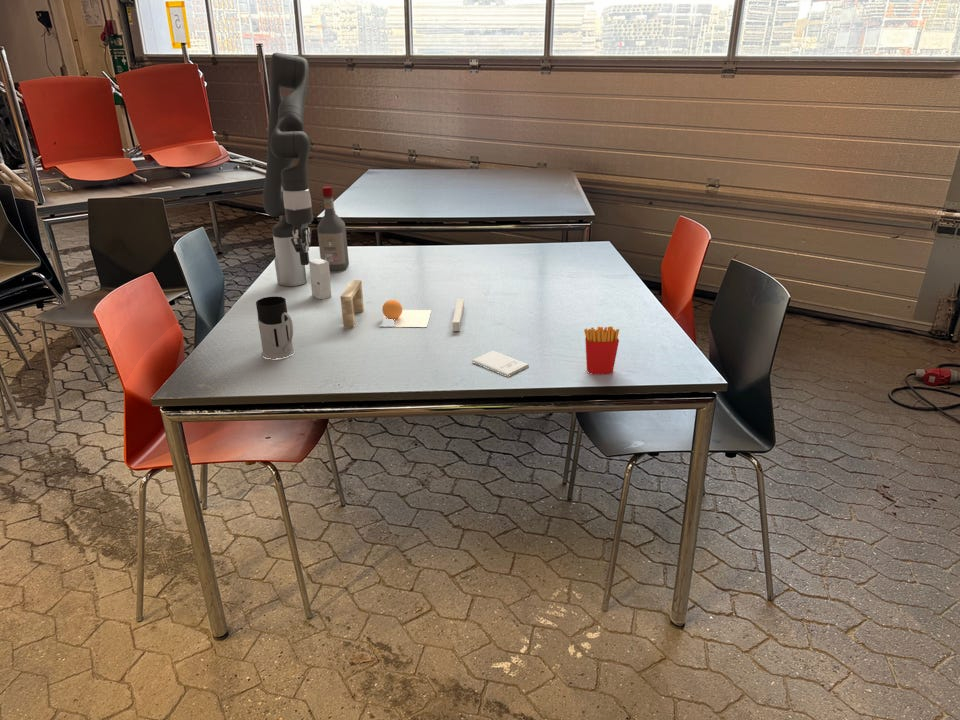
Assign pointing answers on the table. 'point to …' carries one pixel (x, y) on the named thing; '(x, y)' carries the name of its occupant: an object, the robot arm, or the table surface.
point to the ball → (392, 309)
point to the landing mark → (413, 318)
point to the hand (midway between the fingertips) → (305, 264)
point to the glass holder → (275, 327)
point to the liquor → (332, 235)
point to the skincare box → (320, 278)
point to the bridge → (351, 302)
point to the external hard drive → (500, 363)
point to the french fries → (601, 349)
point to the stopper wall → (458, 315)
